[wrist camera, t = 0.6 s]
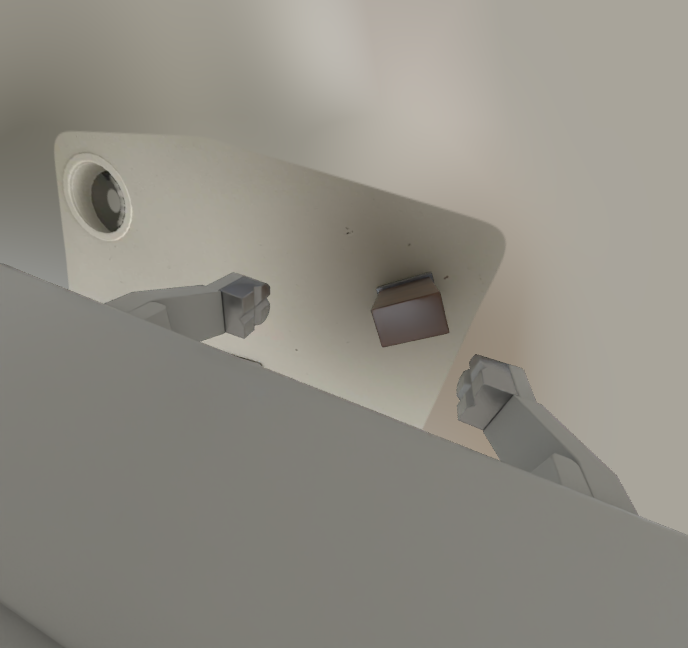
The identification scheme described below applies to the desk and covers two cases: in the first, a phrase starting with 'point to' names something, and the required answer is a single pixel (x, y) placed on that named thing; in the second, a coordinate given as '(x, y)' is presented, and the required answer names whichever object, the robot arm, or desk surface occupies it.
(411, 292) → the eraser
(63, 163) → the desk surface
